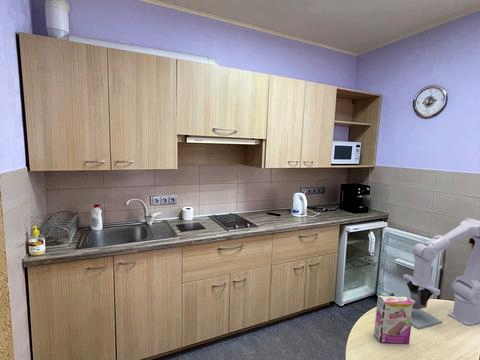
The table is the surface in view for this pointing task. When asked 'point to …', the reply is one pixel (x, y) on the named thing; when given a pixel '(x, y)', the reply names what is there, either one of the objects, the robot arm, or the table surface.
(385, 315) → the candy bar box
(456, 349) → the table surface
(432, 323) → the slate mat
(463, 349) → the table surface
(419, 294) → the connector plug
